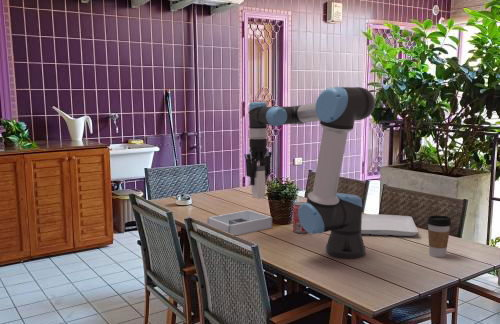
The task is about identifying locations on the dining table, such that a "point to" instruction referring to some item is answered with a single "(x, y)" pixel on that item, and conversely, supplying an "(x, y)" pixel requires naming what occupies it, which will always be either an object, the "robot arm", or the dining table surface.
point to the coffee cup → (438, 235)
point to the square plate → (388, 225)
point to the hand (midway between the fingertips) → (258, 191)
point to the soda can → (297, 219)
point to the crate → (241, 222)
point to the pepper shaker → (260, 182)
